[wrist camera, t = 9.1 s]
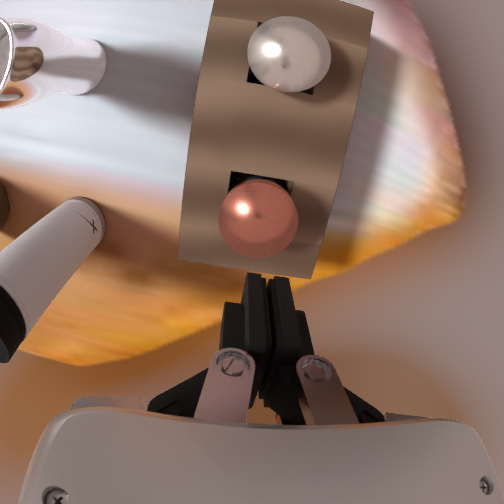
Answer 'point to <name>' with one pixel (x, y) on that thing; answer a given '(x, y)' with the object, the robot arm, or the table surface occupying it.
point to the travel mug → (43, 266)
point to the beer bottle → (3, 205)
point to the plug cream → (289, 54)
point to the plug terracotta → (257, 217)
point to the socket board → (270, 130)
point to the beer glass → (44, 63)
